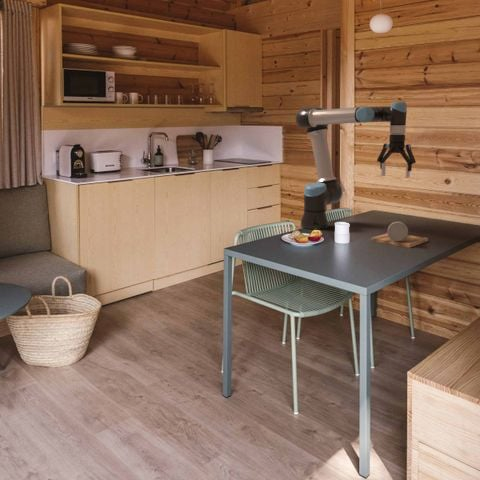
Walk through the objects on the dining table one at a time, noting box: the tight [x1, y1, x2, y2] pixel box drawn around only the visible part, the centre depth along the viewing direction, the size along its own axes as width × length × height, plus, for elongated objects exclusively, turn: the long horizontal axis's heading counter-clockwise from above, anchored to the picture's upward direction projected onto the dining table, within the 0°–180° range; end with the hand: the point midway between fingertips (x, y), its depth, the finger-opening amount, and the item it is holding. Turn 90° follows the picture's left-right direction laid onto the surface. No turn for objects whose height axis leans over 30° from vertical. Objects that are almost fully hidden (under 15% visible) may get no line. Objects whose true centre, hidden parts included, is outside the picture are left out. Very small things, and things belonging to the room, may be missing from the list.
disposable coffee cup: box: [386, 221, 409, 242], centre depth 263 cm, size 10×10×12 cm
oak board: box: [370, 232, 429, 249], centre depth 267 cm, size 20×18×2 cm
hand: (395, 176), depth 281 cm, fingers open, 13 cm apart
